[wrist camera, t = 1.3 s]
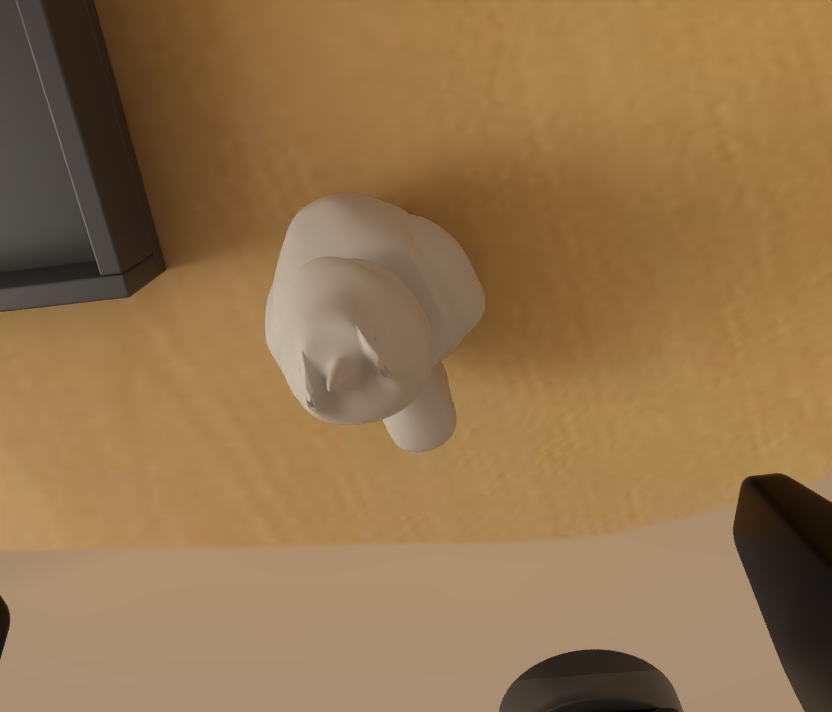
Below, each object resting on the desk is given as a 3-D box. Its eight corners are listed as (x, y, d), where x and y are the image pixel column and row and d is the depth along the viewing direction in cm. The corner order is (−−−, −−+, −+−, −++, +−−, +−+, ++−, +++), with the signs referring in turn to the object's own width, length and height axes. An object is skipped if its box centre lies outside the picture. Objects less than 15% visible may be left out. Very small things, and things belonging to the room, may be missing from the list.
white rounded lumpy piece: (419, 140, 17) (413, 190, 10) (518, 354, 20) (572, 523, 12) (240, 230, 18) (113, 336, 11) (353, 424, 21) (311, 620, 13)
